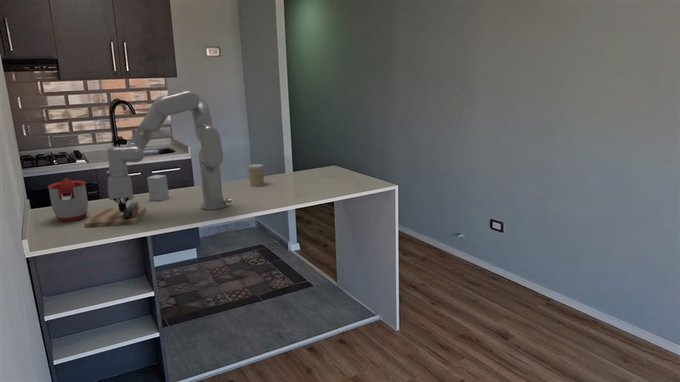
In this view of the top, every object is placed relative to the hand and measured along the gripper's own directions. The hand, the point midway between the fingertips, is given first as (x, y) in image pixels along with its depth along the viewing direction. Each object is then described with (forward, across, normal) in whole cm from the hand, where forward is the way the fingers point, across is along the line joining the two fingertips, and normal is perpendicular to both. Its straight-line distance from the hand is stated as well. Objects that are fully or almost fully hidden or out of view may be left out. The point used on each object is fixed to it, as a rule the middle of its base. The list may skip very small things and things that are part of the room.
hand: (123, 211), depth 226 cm
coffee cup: (+2, +63, +53) cm, 83 cm away
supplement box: (+4, +10, +34) cm, 36 cm away
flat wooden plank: (+4, -4, +2) cm, 6 cm away
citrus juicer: (+5, -24, +6) cm, 26 cm away
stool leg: (+2, +3, +2) cm, 4 cm away
